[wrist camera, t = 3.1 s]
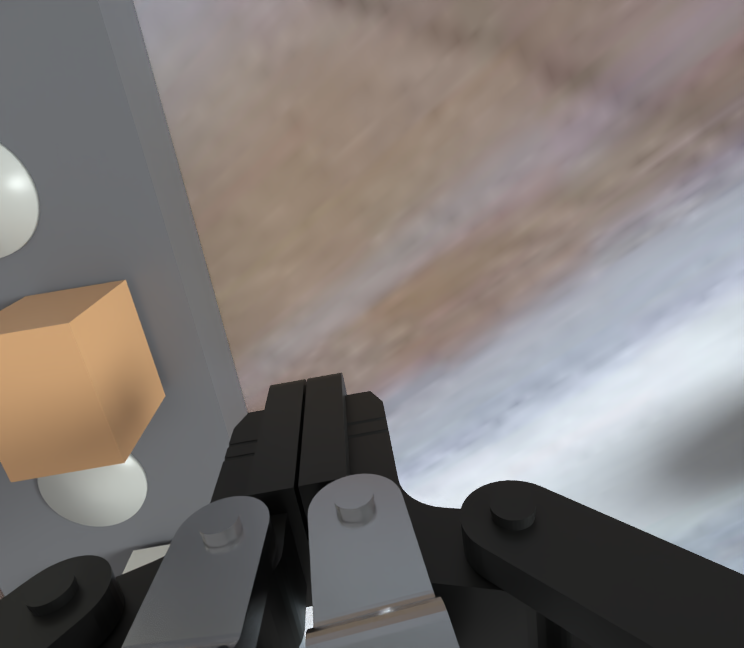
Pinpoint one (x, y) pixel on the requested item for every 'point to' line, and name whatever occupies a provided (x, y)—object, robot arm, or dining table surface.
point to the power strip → (107, 275)
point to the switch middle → (73, 381)
